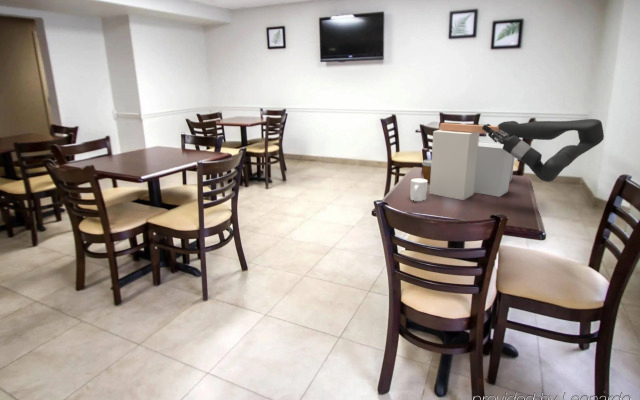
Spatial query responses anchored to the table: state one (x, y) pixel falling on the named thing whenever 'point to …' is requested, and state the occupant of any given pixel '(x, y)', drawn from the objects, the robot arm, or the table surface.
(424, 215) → the table surface
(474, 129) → the terracotta bar
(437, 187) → the stepped stand
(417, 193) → the mug
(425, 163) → the disposable coffee cup
